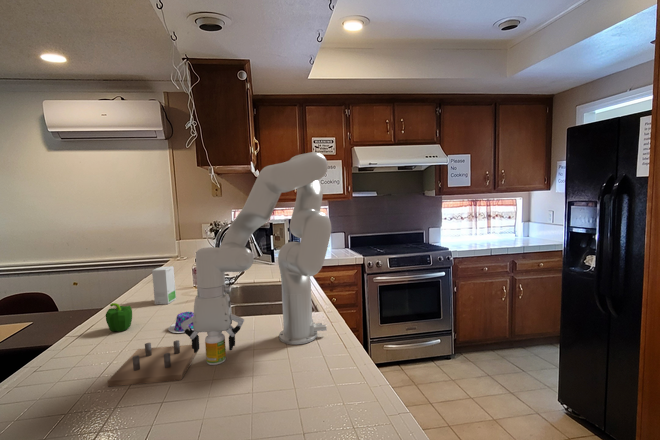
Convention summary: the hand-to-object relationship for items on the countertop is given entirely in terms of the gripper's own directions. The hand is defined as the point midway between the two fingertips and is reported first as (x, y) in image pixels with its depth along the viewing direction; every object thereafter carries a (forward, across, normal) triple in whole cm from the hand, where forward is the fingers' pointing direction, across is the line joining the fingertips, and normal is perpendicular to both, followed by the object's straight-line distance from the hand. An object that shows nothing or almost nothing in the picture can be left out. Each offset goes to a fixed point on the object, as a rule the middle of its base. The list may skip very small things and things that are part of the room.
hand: (214, 349), depth 99 cm
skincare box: (+4, +34, -62) cm, 71 cm away
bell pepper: (+4, +40, -31) cm, 51 cm away
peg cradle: (+4, +16, 0) cm, 16 cm away
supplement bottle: (+4, 0, 0) cm, 4 cm away
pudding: (+4, +16, -29) cm, 33 cm away
